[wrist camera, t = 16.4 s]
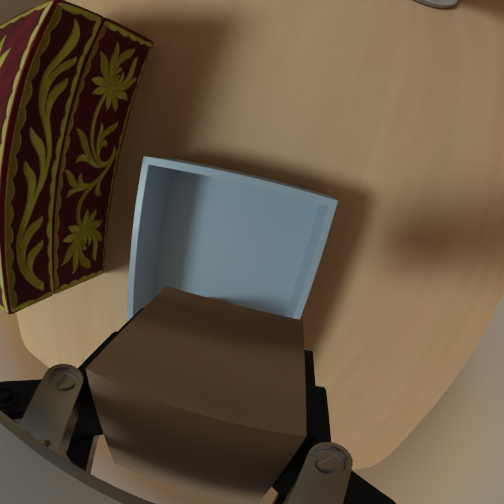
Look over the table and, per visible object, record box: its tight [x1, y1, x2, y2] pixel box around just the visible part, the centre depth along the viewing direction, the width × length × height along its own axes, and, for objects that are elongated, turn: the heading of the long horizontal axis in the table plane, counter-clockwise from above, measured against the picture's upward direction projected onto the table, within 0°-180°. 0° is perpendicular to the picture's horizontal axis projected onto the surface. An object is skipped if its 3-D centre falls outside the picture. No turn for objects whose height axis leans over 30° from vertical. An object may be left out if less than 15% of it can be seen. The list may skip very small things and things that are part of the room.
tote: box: [128, 156, 338, 321], centre depth 25 cm, size 21×15×6 cm
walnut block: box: [86, 286, 306, 504], centre depth 8 cm, size 5×5×5 cm
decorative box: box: [0, 0, 153, 314], centre depth 19 cm, size 28×19×15 cm
